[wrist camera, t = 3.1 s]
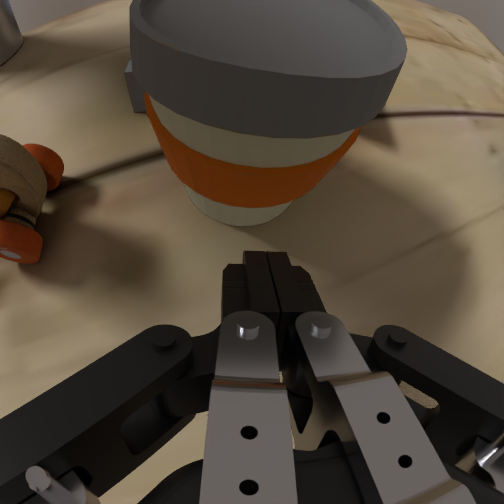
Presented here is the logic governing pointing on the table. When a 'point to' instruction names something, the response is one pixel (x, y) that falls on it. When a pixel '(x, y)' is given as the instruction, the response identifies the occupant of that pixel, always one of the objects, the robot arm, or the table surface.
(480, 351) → the table surface
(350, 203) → the table surface
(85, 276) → the table surface
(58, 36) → the table surface
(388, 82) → the reusable coffee cup
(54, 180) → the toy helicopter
